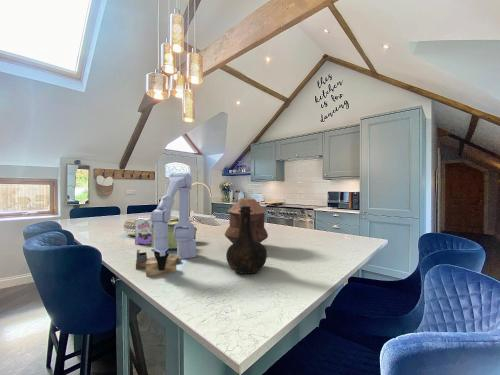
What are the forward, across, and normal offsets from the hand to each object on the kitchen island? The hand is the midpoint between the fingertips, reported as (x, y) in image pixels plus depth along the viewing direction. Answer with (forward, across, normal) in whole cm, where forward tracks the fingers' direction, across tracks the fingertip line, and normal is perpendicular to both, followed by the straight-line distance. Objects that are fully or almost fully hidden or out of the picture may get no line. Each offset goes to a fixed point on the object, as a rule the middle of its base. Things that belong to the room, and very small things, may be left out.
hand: (161, 268), depth 101 cm
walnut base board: (+2, -13, 0) cm, 13 cm away
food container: (+2, -49, +23) cm, 54 cm away
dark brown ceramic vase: (+2, +14, +34) cm, 37 cm away
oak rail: (+2, 0, 0) cm, 2 cm away
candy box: (+2, -61, -4) cm, 61 cm away
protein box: (+2, -41, +7) cm, 42 cm away
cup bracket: (-1, -13, -7) cm, 15 cm away
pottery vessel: (+2, -19, +49) cm, 53 cm away
